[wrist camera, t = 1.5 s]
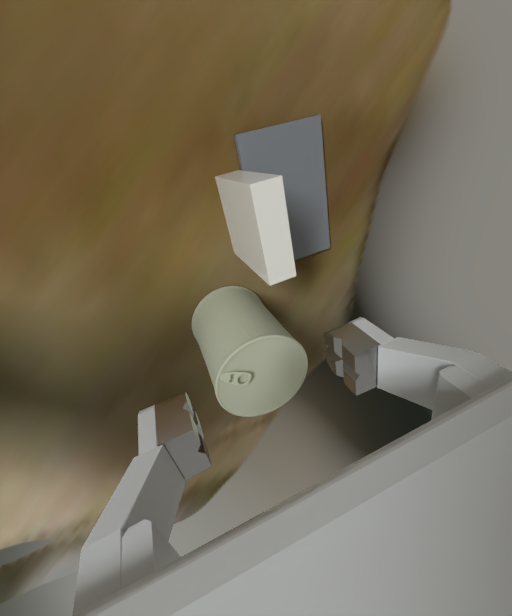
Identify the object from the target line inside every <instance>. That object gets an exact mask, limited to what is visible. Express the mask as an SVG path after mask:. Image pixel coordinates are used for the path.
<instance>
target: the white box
mask: <svg viewBox="0 0 512 616" xmlns="http://www.w3.org/2000/svg"><path fill="white" fill-rule="evenodd" d="M215 178H216V182H217V186H218V190H219V194H220V198H221V202H222V206H223V210H224V214H225V218H226V222H227V226H228V230H229V234H230V237H231V241H232V245H233V249H234V253H235V254H236V255H237V256H238V257H239V258H240V259H241V260H242V261H244V262H245V263H246V264H247V265H248V266H249V267H250V268H251V269H252V270H253V271H254V272H255V273H257V274H258V275H259V276H260V277H261V278H262V279H263V280H264V281H265V282H266V283H267V284H268V285H270V286H271V285H273V284H276V283H279V282H281V281H284V280H287V279H290V278H292V277H295V276H296V269H295V262H294V255H293V248H292V241H291V234H290V227H289V220H288V214H287V207H286V200H285V193H284V186H283V179H282V175H275V174H266V173H258V172H249V171H241V170H238V171H234V172H230V173H227V174H223V175H219V176H216V177H215Z"/></svg>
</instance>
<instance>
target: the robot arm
mask: <svg viewBox="0 0 512 616" xmlns="http://www.w3.org/2000/svg"><path fill="white" fill-rule="evenodd" d="M324 342H325V343H326V344H327V345H328V347H327V349H326V351H325V353H326V359H327V362H328V364H329V366H330V368H331V369H332V371H333V372H334V373H335V374H336V375H338V376H341V377H344V384H345V385H346V386H347V387H348V388H349V389H350V390H351V391H352V392H353V393H354V394H355V395H356V396H357V395H359V394H361V393H363V392H366V391H368V390H370V389H372V388H374V387H377V388H380V389H383V390H385V391H387V392H390V393H392V394H395V395H397V396H400V397H402V398H405V399H407V400H409V401H412V402H414V403H417V404H419V405H422V406H424V407H427V408H429V409H432V410H433V413H432V420H431V421H430V422H428V423H426V424H424V425H422V426H420V427H419V428H417V429H415V430H413V431H411V432H409V433H408V434H406V435H404V436H402V437H400V438H399V439H397V440H395V441H393V442H391V443H390V444H388V445H386V446H384V447H382V448H380V449H378V450H377V451H375V452H373V453H371V454H369V455H367V456H366V457H364V458H362V459H360V460H359V461H356V462H355V463H353V464H351V465H349V466H347V467H345V468H344V469H342V470H340V471H338V472H336V473H334V474H333V475H331V476H329V477H327V478H326V479H324V480H322V481H320V482H318V483H316V484H314V485H312V486H311V487H309V488H307V489H305V490H303V491H301V492H300V493H298V494H296V495H294V496H292V497H290V498H289V499H287V500H285V501H283V502H281V503H280V504H278V505H276V506H274V507H272V508H270V509H269V510H267V511H265V512H263V513H261V514H260V515H258V516H256V517H254V518H252V519H250V520H249V521H247V522H245V523H243V524H241V525H239V526H237V527H235V528H234V529H232V530H230V531H228V532H226V533H225V534H223V535H221V536H219V537H217V538H216V539H214V540H212V541H210V542H208V543H206V544H204V545H203V546H201V547H199V548H197V549H195V550H194V551H192V552H190V553H188V554H186V555H184V556H182V557H180V556H179V554H178V553H177V552H176V551H175V549H174V548H173V547H172V546H171V545H170V543H169V542H168V540H169V536H170V533H171V530H172V527H173V524H174V520H175V517H176V514H177V510H178V507H179V504H180V500H181V497H182V494H183V491H184V487H185V484H186V481H185V480H187V479H189V478H191V477H193V476H195V475H196V474H198V473H200V472H202V471H204V470H206V469H208V468H210V467H212V465H211V462H210V458H209V454H208V450H207V447H206V445H205V443H204V441H203V438H204V434H203V431H202V427H201V424H200V421H199V419H198V416H197V414H196V412H195V410H194V409H192V406H191V402H190V399H189V397H188V395H187V393H186V392H185V393H182V394H180V395H177V396H175V397H172V398H170V399H167V400H165V401H162V402H160V403H157V404H155V405H153V406H151V407H148V408H146V409H143V410H141V411H139V413H138V448H139V455H138V456H136V457H134V458H133V460H132V461H131V463H130V465H129V467H128V468H127V470H126V472H125V474H124V475H123V477H122V479H121V481H120V482H119V484H118V486H117V488H116V489H115V491H114V493H113V495H112V496H111V498H110V500H109V502H108V503H107V505H106V507H105V509H104V511H103V512H102V514H101V516H100V518H99V519H98V521H97V523H96V525H95V526H94V528H93V530H92V532H91V533H90V535H89V537H88V539H87V540H86V542H85V544H84V546H83V547H82V549H81V555H80V563H79V571H78V578H77V586H76V593H75V601H74V608H73V616H512V372H511V371H509V370H508V369H506V368H504V367H502V366H500V365H499V364H497V363H495V362H493V361H491V360H490V359H488V358H486V357H485V356H483V355H481V354H479V353H477V352H475V351H470V350H465V349H459V348H454V347H449V346H443V345H438V344H432V343H427V342H422V341H416V340H411V339H405V338H400V337H397V338H395V339H394V338H393V337H391V336H390V335H388V334H387V333H385V332H384V331H382V330H381V329H379V328H378V327H376V326H375V325H374V324H372V323H371V322H369V321H368V320H366V319H365V318H362V317H360V318H358V319H355V320H353V321H351V322H349V323H347V324H344V325H342V326H340V327H337V328H335V329H333V330H331V331H328V332H326V333H325V334H324Z"/></svg>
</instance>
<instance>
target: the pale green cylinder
mask: <svg viewBox="0 0 512 616" xmlns="http://www.w3.org/2000/svg"><path fill="white" fill-rule="evenodd" d="M192 331H193V334H194V337H195V339H196V340H197V342H198V344H199V346H200V349H201V352H202V355H203V357H204V360H205V363H206V366H207V368H208V371H209V374H210V377H211V380H212V383H213V386H214V389H215V395H216V398H217V400H218V402H219V404H220V405H221V406H222V407H223V408H224V409H225V410H226V411H228V412H229V413H231V414H234V415H237V416H242V417H254V416H260V415H264V414H267V413H269V412H272V411H274V410H276V409H278V408H279V407H281V406H282V405H284V404H285V403H286V402H288V401H289V400H290V399H291V398H292V397H293V396H294V395H295V394H296V393H297V391H298V390H299V389H300V387H301V385H302V384H303V382H304V380H305V377H306V374H307V370H308V358H307V354H306V352H305V350H304V348H303V347H302V345H301V344H300V343H299V342H298V341H296V340H295V339H294V338H293V337H292V336H291V335H290V334H289V333H288V332H287V330H286V329H285V328H284V327H283V326H282V325H281V324H280V323H279V322H278V321H277V320H276V318H275V317H274V316H273V315H272V314H271V313H270V312H269V311H268V310H267V308H266V307H265V306H264V305H263V304H262V302H261V300H260V299H259V297H258V296H257V295H256V294H255V293H254V292H252V291H251V290H249V289H247V288H244V287H240V286H226V287H222V288H219V289H216V290H214V291H212V292H211V293H209V294H208V295H207V296H205V297H204V298H203V299H202V300H201V301H200V303H199V304H198V306H197V307H196V309H195V311H194V314H193V317H192Z"/></svg>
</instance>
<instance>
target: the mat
mask: <svg viewBox="0 0 512 616" xmlns="http://www.w3.org/2000/svg"><path fill="white" fill-rule="evenodd" d="M234 137H235V142H236V147H237V151H238V156H239V161H240V166H241V171H249V172H258V173H266V174H275V175H282V179H283V186H284V193H285V200H286V207H287V214H288V220H289V227H290V234H291V241H292V248H293V255H294V260H297V259H300V258H303V257H306V256H309V255H311V254H314V253H317V252H320V251H323V250H326V249H328V248H330V238H329V224H328V210H327V196H326V182H325V168H324V154H323V140H322V126H321V115H317V116H312V117H308V118H304V119H300V120H296V121H292V122H287V123H283V124H279V125H275V126H271V127H267V128H262V129H258V130H254V131H250V132H246V133H241V134H237V135H234Z"/></svg>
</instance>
